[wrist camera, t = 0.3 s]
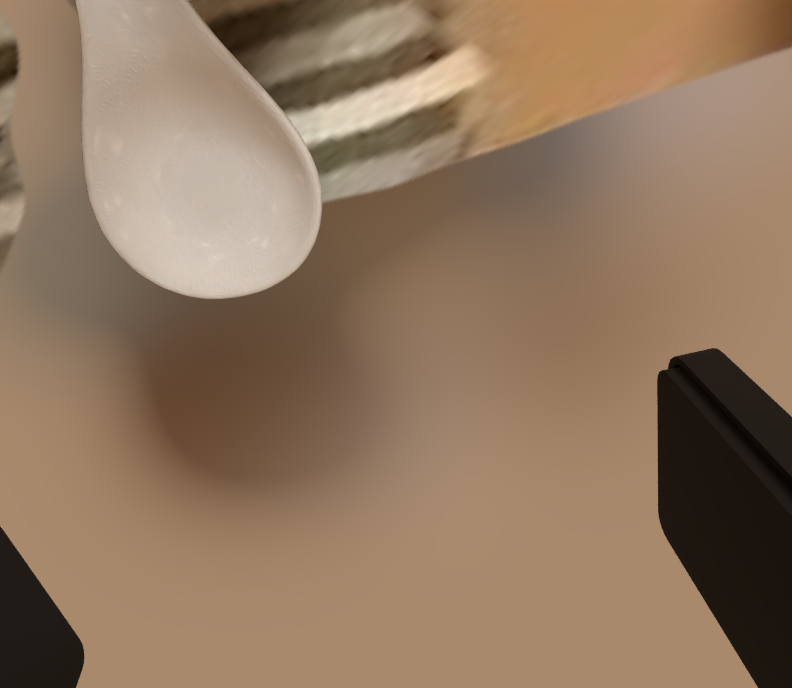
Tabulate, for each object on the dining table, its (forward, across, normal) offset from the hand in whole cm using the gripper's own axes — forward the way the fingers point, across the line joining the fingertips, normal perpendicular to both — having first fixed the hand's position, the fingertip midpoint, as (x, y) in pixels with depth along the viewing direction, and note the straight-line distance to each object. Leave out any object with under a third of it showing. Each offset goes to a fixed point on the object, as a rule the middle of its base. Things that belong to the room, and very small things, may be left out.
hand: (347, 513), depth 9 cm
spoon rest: (+31, +7, -4) cm, 32 cm away
